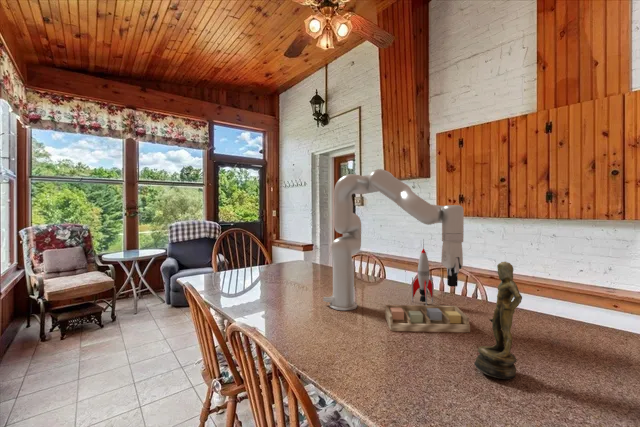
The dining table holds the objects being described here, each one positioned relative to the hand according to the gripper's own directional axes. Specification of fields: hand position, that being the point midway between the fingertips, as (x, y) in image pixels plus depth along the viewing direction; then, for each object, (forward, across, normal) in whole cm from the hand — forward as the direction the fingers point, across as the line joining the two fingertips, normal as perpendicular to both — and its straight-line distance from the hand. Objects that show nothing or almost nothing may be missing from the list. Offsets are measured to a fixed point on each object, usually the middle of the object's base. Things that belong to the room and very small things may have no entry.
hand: (452, 285), depth 117 cm
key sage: (+14, 0, -14) cm, 19 cm away
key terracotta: (+12, 0, -21) cm, 24 cm away
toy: (+15, -24, -4) cm, 29 cm away
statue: (+15, +35, 0) cm, 38 cm away
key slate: (+12, 0, -7) cm, 14 cm away
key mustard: (+14, 0, 0) cm, 14 cm away
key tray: (+15, 0, -10) cm, 18 cm away
